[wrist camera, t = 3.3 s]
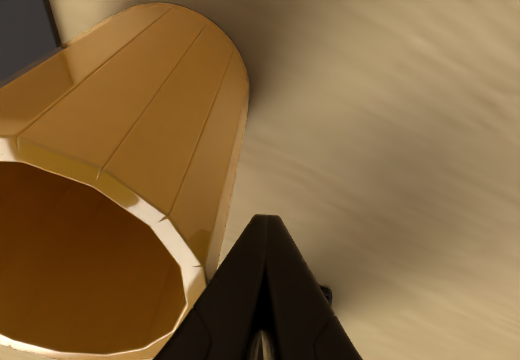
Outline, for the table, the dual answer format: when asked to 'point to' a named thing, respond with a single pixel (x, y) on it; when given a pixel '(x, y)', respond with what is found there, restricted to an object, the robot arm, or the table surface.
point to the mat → (25, 34)
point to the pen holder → (117, 183)
